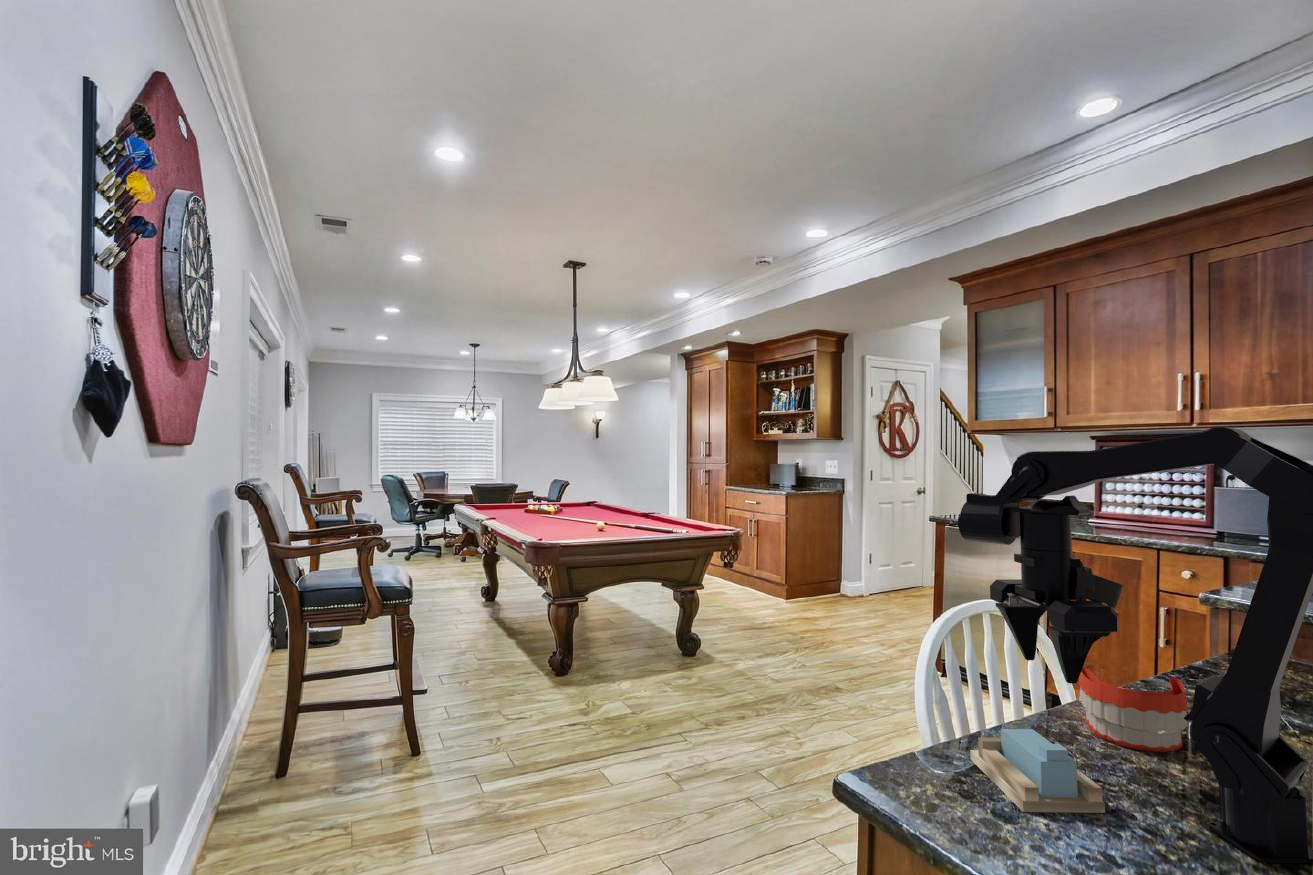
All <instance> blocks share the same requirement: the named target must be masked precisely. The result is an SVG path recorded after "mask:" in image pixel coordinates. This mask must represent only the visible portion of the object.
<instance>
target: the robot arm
mask: <svg viewBox="0 0 1313 875" xmlns="http://www.w3.org/2000/svg"><path fill="white" fill-rule="evenodd" d="M1213 465H1215V466H1217V467H1219V468H1221V469H1222V470H1224V471H1225V472H1227V473H1229V474H1230V475H1232V476H1233V477H1234V478H1237V480H1240V481H1241V482H1242V483H1244V484H1246V485H1247V486H1249V487H1250V488H1252V489H1254V490H1256V491H1258V492H1260V493H1261V494H1263V495H1265V496H1267V497H1268V506H1267V517H1266V518H1267V519H1266V521H1267V522H1266V523H1267V524H1266V526H1267V535H1268V536H1267V538H1268V550H1267V554H1266V556H1265V557H1266V558H1265V560H1264V563H1263V565H1262V569H1261V570H1260V571H1261V572H1260V573H1259V577H1258V580H1257V583H1256V586H1255V589H1254V591H1253V594H1252V598H1251V601H1250V603H1249V606H1248V610H1247V612H1246V616H1245V618H1244V621H1243V623H1242V626H1241V630H1240V633H1239V636H1238V637H1237V638H1238V639H1237V642H1236V643H1235V644H1236V645H1235V648H1234V650H1233V652H1232V656H1231V658H1230V662H1229V665H1228V668H1227V671H1226V673H1225V674H1224V675H1223V677H1220V676H1218V675H1216V674H1213V675H1211V676H1209V677H1207V678H1206V679H1204V680H1203V681H1201V682H1199V683H1198V684H1196V685H1195V689H1194V693H1193V702H1192V703H1193V704H1192V707H1191V709H1190V711H1189V712H1188V713H1187V715H1186V716H1185V717H1184V719H1185V720H1186V721H1187V722H1188V721H1189V722H1190V725H1189V738H1190V740H1191V742H1193V744H1194V746H1195V747H1196V749H1197V750H1198V751H1199V753H1200V754H1201V755H1202V756H1203V757H1204V758H1205V759H1206V760H1208V763H1209V765H1210V767H1211V769H1212V771H1213V774H1214V775H1215V778H1216V781H1217V782H1218V793H1219V795H1218V796H1219V815H1220V816H1219V817H1220V818H1219V819H1220V820H1221V821H1207V822H1206V823H1207V828H1208V829H1210V830H1211V831H1212V832H1214V833H1216V834H1217V835H1219V836H1220V837H1221V838H1223V839H1225V840H1226V841H1228V842H1229V843H1230V844H1232V845H1233V846H1235V847H1236V848H1237V849H1239V850H1241V851H1242V852H1243V853H1244V854H1246V855H1248V856H1249V857H1251V858H1252V859H1254V860H1256V861H1258V862H1260V863H1267V864H1268V863H1269V864H1276V863H1277V864H1284V863H1285V864H1313V848H1310V847H1309V837H1308V817H1307V816H1308V815H1307V814H1308V813H1307V812H1308V811H1307V798H1306V797H1305V796H1303V795H1301V792H1300V790H1299V789H1298V787H1296V785H1297V784H1298V783H1299V782H1301V781H1302V780H1303V778H1304V776H1305V774H1306V772H1307V770H1308V769H1309V767H1310V763H1309V761H1308V760H1306V759H1305V757H1303V755H1301V754H1300V753H1299V752H1298V751H1297V750H1296V749H1295V748H1294V747H1293V746H1292V745H1291V744H1289V742H1287V740H1286V739H1285V738H1284V737H1282V736H1281V735H1280V725H1281V717H1282V716H1281V714H1282V713H1281V712H1282V707H1281V695H1280V693H1281V692H1280V690H1281V689H1280V688H1281V682H1282V679H1283V677H1284V674H1285V670H1286V669H1287V668H1286V667H1287V665H1288V662H1289V660H1290V657H1291V655H1292V652H1293V649H1294V646H1295V643H1296V640H1297V638H1298V635H1299V632H1300V630H1301V626H1302V624H1303V621H1304V618H1305V616H1306V612H1307V610H1308V607H1309V605H1310V604H1309V603H1310V601H1311V598H1312V596H1313V464H1311V463H1310V462H1307V461H1306V460H1303V459H1301V458H1300V457H1297V456H1295V455H1292V454H1290V453H1288V452H1286V451H1283V450H1281V449H1279V448H1276V447H1274V446H1272V445H1270V444H1267V443H1264V442H1262V441H1260V440H1258V439H1257V438H1254V437H1253V436H1250V435H1249V433H1248V432H1245V431H1244V430H1242V429H1239V428H1234V427H1226V426H1214V427H1210V428H1206V430H1203V431H1198V432H1193V433H1188V434H1187V433H1186V434H1181V435H1176V436H1170V437H1163V438H1157V439H1152V440H1151V439H1150V440H1147V441H1146V440H1145V441H1141V442H1140V441H1139V442H1135V443H1128V444H1122V445H1117V446H1112V447H1111V446H1110V447H1105V448H1099V449H1094V450H1093V449H1092V450H1065V451H1064V450H1060V451H1058V450H1054V451H1053V450H1050V451H1049V450H1048V451H1042V450H1040V451H1039V450H1038V451H1027V452H1024V453H1022V454H1019V455H1018V456H1017V458H1016V460H1015V461H1014V462H1013V464H1012V467H1011V470H1010V471H1011V472H1010V473H1011V474H1010V475H1009V477H1008V479H1007V480H1006V481H1005V482H1004V483H1003V484H1002V486H1001V487H1000V489H999V491H998V492H997V493H996V494H991V495H990V494H986V493H979V492H972V493H969V492H968V493H966V495H965V496H966V500H965V502H964V504H963V505H962V507H961V509H960V512H959V516H958V518H957V526H958V529H959V533H960V535H961V537H962V538H963V539H964V540H965V541H967V542H976V543H984V544H985V543H986V544H997V545H998V544H999V545H1009V546H1010V545H1012V544H1013V543H1014V542H1015V540H1016V539H1020V553H1014V554H1013V561H1014V562H1015V563H1018V564H1020V570H1021V571H1020V572H1021V577H1020V578H1021V579H995V580H994V581H993V582H992V583H991V584H990V585H989V597H990V598H989V599H990V600H993V601H995V608H997V610H999V612H1000V614H1001V616H1002V618H1003V619H1004V621H1005V623H1006V625H1007V627H1008V629H1009V630H1010V632H1011V634H1012V636H1013V638H1014V640H1015V642H1016V644H1017V646H1018V648H1019V650H1020V651H1021V653H1022V656H1023V658H1024V660H1026V661H1034V660H1035V659H1036V652H1037V646H1038V645H1037V644H1038V632H1039V630H1038V629H1039V620H1040V618H1041V617H1042V616H1043V615H1044V614H1045V613H1046V612H1047V619H1048V621H1049V622H1050V624H1051V626H1050V625H1049V626H1047V630H1048V633H1049V636H1050V640H1051V643H1052V646H1053V648H1054V651H1055V654H1056V657H1057V660H1058V664H1059V666H1060V669H1061V671H1062V672H1061V673H1062V674H1063V678H1064V679H1065V682H1066V683H1067V684H1069V685H1071V684H1077V683H1078V682H1079V676H1080V673H1081V671H1082V668H1084V665H1085V662H1086V660H1087V657H1088V656H1089V655H1088V654H1089V652H1090V651H1091V648H1092V646H1093V644H1094V643H1096V642H1097V641H1098V640H1100V639H1101V638H1105V637H1107V638H1108V637H1109V636H1110V635H1111V634H1112V633H1119V631H1120V622H1119V620H1120V618H1119V617H1120V616H1119V615H1120V614H1119V613H1117V612H1116V611H1115V610H1116V609H1117V607H1118V603H1119V601H1120V598H1121V594H1122V592H1123V589H1124V584H1121V583H1118V582H1117V581H1113V580H1110V579H1107V578H1105V577H1102V576H1099V575H1096V574H1093V572H1092V571H1093V570H1092V568H1091V567H1089V566H1088V567H1087V566H1085V565H1084V564H1083V561H1082V560H1081V558H1077V557H1073V540H1072V539H1073V538H1072V534H1073V533H1072V516H1082V515H1083V516H1084V515H1089V514H1091V509H1090V508H1089V507H1087V506H1086V505H1085V504H1083V503H1082V502H1081V501H1080V500H1079V499H1078V498H1077V496H1076V495H1065V496H1064V497H1063V498H1061V499H1060V500H1042V499H1044V498H1045V497H1047V496H1059V495H1064V494H1066V493H1071V492H1073V491H1076V490H1080V489H1083V488H1086V487H1089V486H1091V485H1095V484H1098V483H1100V482H1103V481H1106V480H1112V479H1119V478H1126V477H1133V476H1141V475H1147V474H1156V473H1161V472H1163V473H1164V472H1170V471H1178V470H1183V469H1185V470H1186V469H1190V468H1192V469H1193V468H1198V467H1199V468H1200V467H1205V466H1206V467H1207V466H1213ZM1027 502H1028V503H1029V502H1035V503H1034V504H1033V505H1032V506H1031V507H1027V506H1021V503H1027ZM1083 565H1084V566H1083ZM1114 609H1115V610H1114Z"/></svg>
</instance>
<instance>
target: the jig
mask: <svg viewBox="0 0 1313 875" xmlns="http://www.w3.org/2000/svg"><path fill="white" fill-rule="evenodd" d="M1044 738H1045V739H1046V740H1048V739H1047V738H1046V737H1044ZM1048 741H1049V742H1050V743H1051V741H1050V740H1048ZM977 748H978V749H970V753H969V754H970V755H969V756H970V757H969V758H970V760H971V761H972V762H973V763H974V765H975V766H977V767H978V769H980V770H981V772H983V773H984V775H986V776H987V777H988V778H989V779H990V781H992V782H993V783H994V784H995V785H996V786H997V787H998V788H999V789H1000V791H1002V792H1003V793H1004V794H1005V795H1006V796H1007V797H1008V798H1009V800H1011V802H1013V803H1014V805H1016V806H1017V807H1018V808H1019V809H1020V810H1021V811H1022V812H1023V813H1088V814H1089V813H1092V814H1093V813H1094V814H1095V813H1101V814H1102V813H1103V814H1105V813H1106V807H1105V804H1106V802H1105V800H1103V788H1102V787H1101V786H1100V785H1099V784H1097V783H1096V782H1095V781H1093V780H1092V779H1091V778H1089V777H1088V776H1087V775H1085V774H1084V773H1083V772H1081V771H1080V770H1079V769H1077V792H1078V798H1047V797H1041V796H1040V795H1039V789H1038V787H1037V786H1036V785H1035V784H1034V783H1033V782H1032V781H1031V780H1029V779H1028V778H1027V777H1026V776H1025V775H1024V774H1023V773H1022V772H1020V771H1019V770H1018V769H1017V768H1016V767H1015V766H1014V765H1013V764H1011V763H1010V762H1009V761H1008V760H1007V759H1006V758H1005V757H1004V756H1002V749H1001V736H1000V737H995V736H994V737H989V736H987V737H985V736H983V737H981V736H979V737H977Z"/></svg>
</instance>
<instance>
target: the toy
mask: <svg viewBox="0 0 1313 875" xmlns="http://www.w3.org/2000/svg"><path fill="white" fill-rule="evenodd" d="M1168 680H1169V685H1170V689H1169V690H1166V691H1155V692H1153V691H1139V690H1135V689H1130V688H1129V689H1128V688H1124V687H1119V686H1116V685H1113V684H1109V683H1107V682H1104V681H1102V680H1100V679H1099V678H1097V676H1096V675H1095V674H1094V673H1093V671H1091V669H1088V668H1086V667H1083V668H1082V671H1081V673H1080V676H1079V679H1078V684H1079V687H1080V689H1079V699H1078V701H1079V702H1080V701H1082V702H1080V703H1081V704H1082V707H1084V709H1085V715H1086V716H1085V719H1084V722H1085V724H1086V725H1087V724H1088V725H1087V727H1088V729H1089V730H1090V731H1091V733H1092V734H1094V735H1096V736H1097V737H1098V738H1100V739H1102V740H1105V741H1107V742H1110V743H1112V744H1115V745H1117V746H1119V747H1125V748H1129V749H1133V750H1138V751H1144V752H1153V753H1168V752H1169V753H1170V752H1172V751H1173V752H1176V751H1179V750H1180V749H1181V748H1182V747H1183V740H1182V731H1184V730H1185V729H1186V728H1187V727H1188V726H1189V725H1188V721H1186V720H1185V719H1184V717H1185V716H1186V715H1187V714H1188V713H1187V712H1188V711H1189V706H1188V699H1187V692H1186V689H1185V686H1184V684H1183V682H1182V680H1181V679H1179V678H1175V677H1170V678H1169V679H1168Z"/></svg>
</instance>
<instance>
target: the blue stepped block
mask: <svg viewBox="0 0 1313 875" xmlns="http://www.w3.org/2000/svg"><path fill="white" fill-rule="evenodd" d="M1000 737H1001V749H1002V756H1004V757H1005V758H1006V759H1007V760H1008V761H1009V762H1010V763H1011V764H1013V765H1014V766H1015V767H1016V768H1017V769H1018V770H1019V771H1020V772H1022V773H1023V774H1024V775H1025V776H1026V777H1027V778H1028V779H1029V780H1031V781H1032V782H1033V783H1034V784H1035V785H1036V786H1037V787H1038V789H1039V795H1040V796H1041V797H1047V798H1078V792H1077V770H1078V769H1077V768H1078V766H1077V761H1076V760H1075V759H1073V758H1072V757H1071V756H1069V750H1068V749H1067V748H1066V747H1064V746H1063V745H1061V744H1060V743H1052V742H1051V741H1050V740H1048V739H1047V738H1046V737H1044V736H1042V735H1041V734H1039V733H1038V732H1037V731H1036V730H1034V729H1032V728H1030V729H1029V728H1027V729H1026V728H1023V729H1021V728H1019V729H1016V728H1015V729H1013V728H1012V729H1010V728H1007V729H1006V728H1000ZM1045 738H1046V739H1047V740H1046V739H1045ZM1049 741H1050V742H1049Z"/></svg>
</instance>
